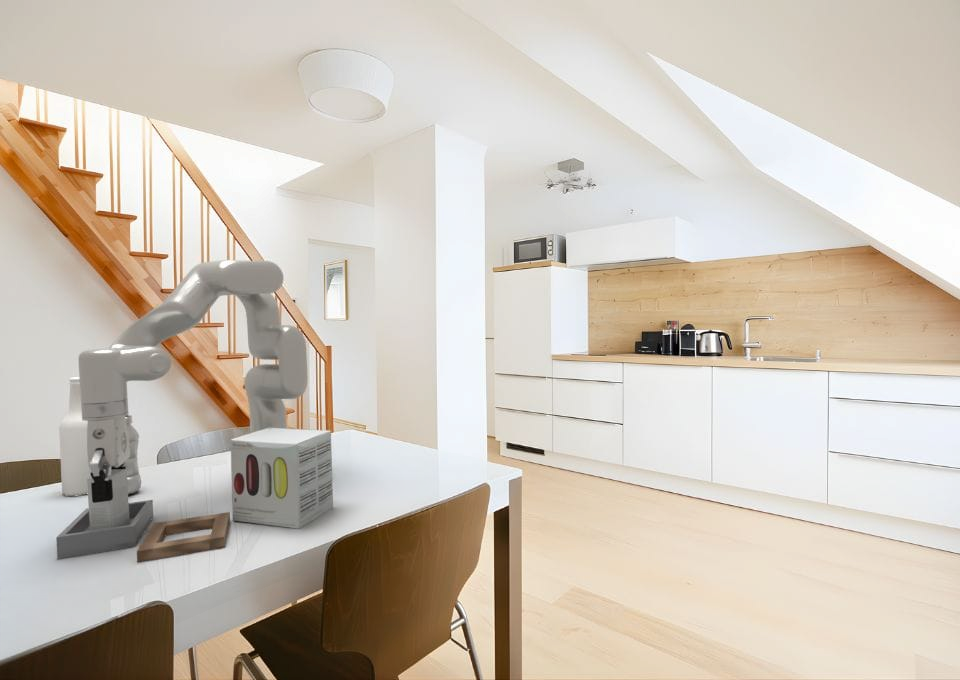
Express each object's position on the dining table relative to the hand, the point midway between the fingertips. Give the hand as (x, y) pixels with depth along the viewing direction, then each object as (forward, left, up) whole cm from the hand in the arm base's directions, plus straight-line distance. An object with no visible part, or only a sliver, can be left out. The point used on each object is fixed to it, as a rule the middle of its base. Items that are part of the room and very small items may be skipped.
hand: (110, 493), depth 100 cm
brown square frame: (-15, +9, -9) cm, 19 cm away
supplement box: (-33, +3, -9) cm, 34 cm away
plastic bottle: (+4, -30, -9) cm, 31 cm away
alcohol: (+15, -38, -9) cm, 42 cm away
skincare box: (0, +1, -8) cm, 8 cm away
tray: (0, 0, -9) cm, 9 cm away
